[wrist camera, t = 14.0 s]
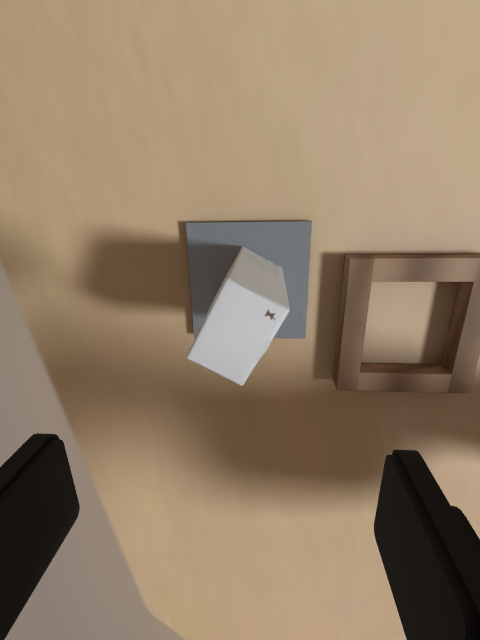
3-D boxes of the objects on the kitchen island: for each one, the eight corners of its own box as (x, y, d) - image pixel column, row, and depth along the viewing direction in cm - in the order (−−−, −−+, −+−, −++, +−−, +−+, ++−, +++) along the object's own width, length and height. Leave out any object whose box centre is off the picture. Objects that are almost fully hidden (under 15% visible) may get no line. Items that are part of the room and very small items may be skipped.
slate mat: (310, 220, 29) (311, 221, 28) (304, 335, 33) (304, 338, 32) (187, 222, 30) (185, 222, 29) (195, 333, 34) (194, 337, 33)
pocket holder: (489, 253, 29) (505, 257, 27) (457, 382, 33) (469, 393, 32) (344, 254, 30) (350, 258, 28) (332, 379, 34) (336, 390, 32)
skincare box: (241, 244, 29) (227, 274, 18) (283, 266, 30) (294, 309, 19) (212, 301, 31) (183, 359, 20) (251, 321, 32) (244, 389, 21)
